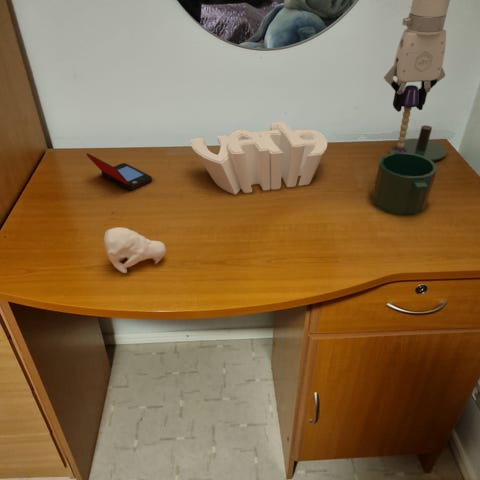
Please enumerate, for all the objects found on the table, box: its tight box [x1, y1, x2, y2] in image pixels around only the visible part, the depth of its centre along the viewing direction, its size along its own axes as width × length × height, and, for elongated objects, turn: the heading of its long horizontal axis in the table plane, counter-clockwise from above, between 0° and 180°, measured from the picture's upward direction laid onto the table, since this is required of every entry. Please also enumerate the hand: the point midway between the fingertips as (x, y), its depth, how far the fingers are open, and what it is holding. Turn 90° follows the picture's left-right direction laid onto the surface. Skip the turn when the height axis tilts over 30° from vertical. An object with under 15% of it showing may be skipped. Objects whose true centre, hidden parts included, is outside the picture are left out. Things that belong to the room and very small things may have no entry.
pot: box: [371, 149, 438, 216], centre depth 114 cm, size 13×18×10 cm
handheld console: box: [86, 153, 153, 191], centre depth 122 cm, size 12×11×7 cm
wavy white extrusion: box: [190, 121, 328, 195], centre depth 122 cm, size 35×16×10 cm, turn 102°
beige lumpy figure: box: [103, 227, 167, 274], centre depth 96 cm, size 6×8×12 cm
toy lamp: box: [392, 84, 419, 153], centre depth 120 cm, size 5×5×17 cm
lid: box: [395, 124, 447, 162], centre depth 134 cm, size 14×14×7 cm
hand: (407, 107), depth 117 cm, fingers closed on toy lamp, 4 cm apart
